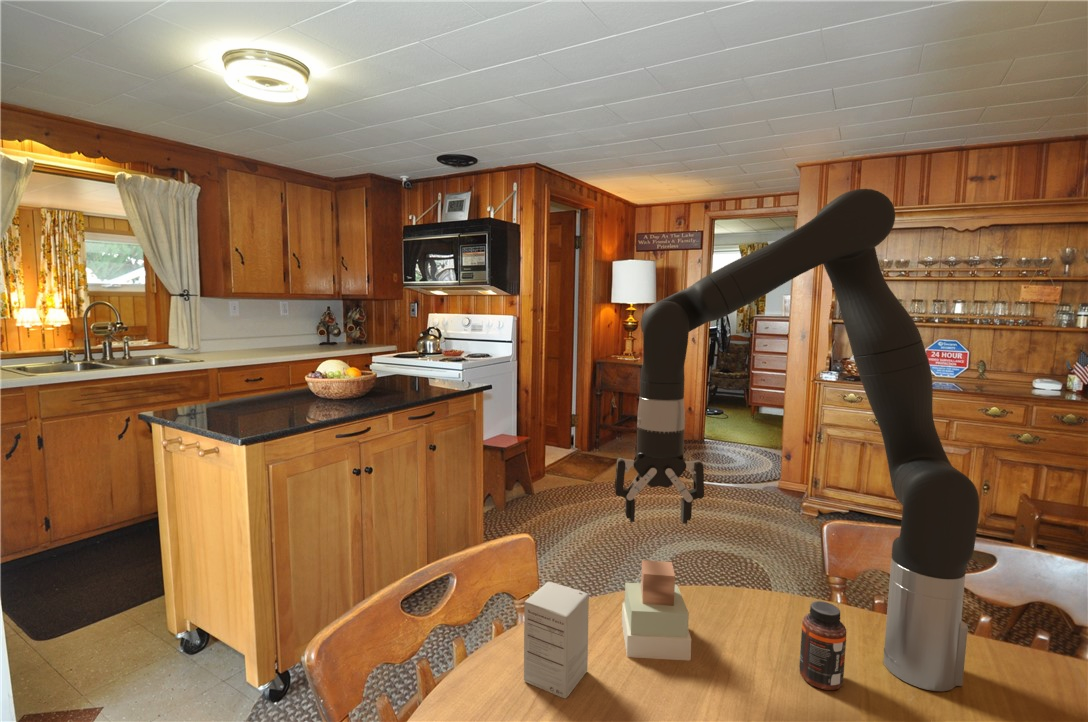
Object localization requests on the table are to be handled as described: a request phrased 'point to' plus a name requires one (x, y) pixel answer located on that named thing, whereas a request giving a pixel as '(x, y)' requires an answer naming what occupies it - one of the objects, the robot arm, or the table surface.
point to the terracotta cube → (657, 583)
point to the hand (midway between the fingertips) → (657, 521)
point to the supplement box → (556, 638)
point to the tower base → (655, 644)
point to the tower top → (655, 614)
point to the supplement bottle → (823, 646)
